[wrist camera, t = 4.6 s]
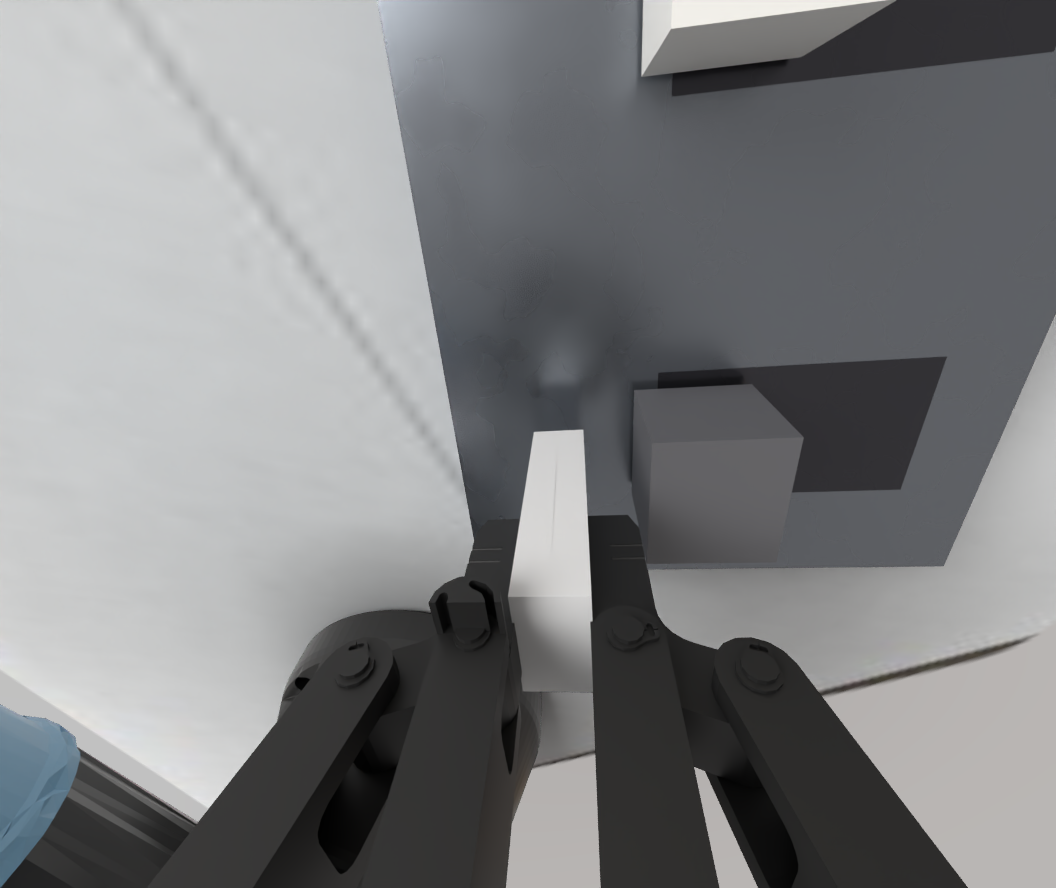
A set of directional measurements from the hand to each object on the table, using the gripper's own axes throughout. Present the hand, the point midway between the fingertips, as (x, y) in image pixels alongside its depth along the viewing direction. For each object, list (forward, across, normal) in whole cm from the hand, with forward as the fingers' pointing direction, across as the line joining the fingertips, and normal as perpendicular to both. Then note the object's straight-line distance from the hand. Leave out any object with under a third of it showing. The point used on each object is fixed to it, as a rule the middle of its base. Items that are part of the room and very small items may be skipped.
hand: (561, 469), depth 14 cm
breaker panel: (+5, -5, -5) cm, 9 cm away
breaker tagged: (+2, -4, 0) cm, 5 cm away
